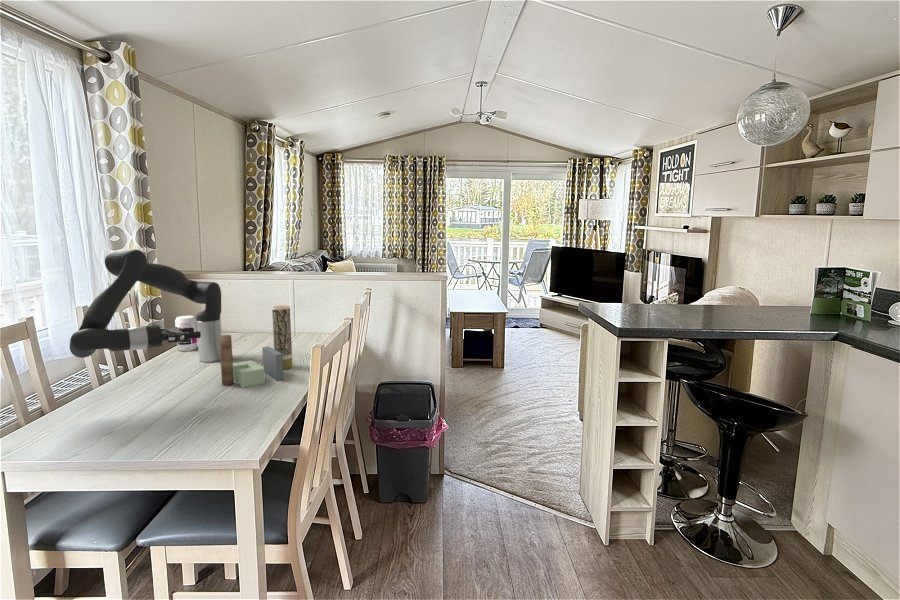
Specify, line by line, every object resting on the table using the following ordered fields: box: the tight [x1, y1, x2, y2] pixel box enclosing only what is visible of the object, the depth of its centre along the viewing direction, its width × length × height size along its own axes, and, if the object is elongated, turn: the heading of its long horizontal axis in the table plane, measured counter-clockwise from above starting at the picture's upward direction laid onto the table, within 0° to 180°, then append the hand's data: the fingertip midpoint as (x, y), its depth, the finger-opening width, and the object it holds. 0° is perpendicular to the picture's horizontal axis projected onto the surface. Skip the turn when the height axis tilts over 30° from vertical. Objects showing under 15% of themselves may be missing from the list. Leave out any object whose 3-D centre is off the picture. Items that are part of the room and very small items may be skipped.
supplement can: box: [174, 315, 198, 352], centre depth 241 cm, size 8×8×15 cm
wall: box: [262, 345, 284, 381], centre depth 204 cm, size 14×2×10 cm, turn 39°
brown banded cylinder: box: [219, 334, 235, 387], centre depth 193 cm, size 4×4×18 cm
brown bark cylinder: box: [271, 304, 293, 370], centre depth 213 cm, size 7×7×25 cm
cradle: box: [233, 359, 266, 388], centre depth 198 cm, size 14×8×6 cm, turn 39°
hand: (196, 332), depth 185 cm, fingers open, 8 cm apart
